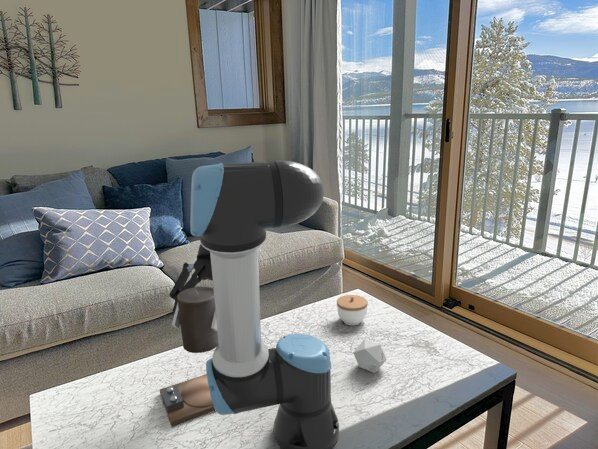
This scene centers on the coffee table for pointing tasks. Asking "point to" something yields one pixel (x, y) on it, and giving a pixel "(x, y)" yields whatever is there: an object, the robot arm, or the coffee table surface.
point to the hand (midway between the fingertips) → (194, 328)
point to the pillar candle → (197, 319)
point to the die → (369, 356)
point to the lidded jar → (352, 309)
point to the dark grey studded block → (172, 399)
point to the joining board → (192, 400)
